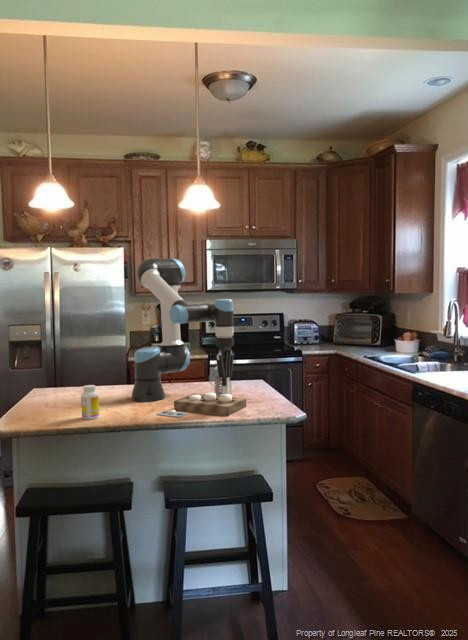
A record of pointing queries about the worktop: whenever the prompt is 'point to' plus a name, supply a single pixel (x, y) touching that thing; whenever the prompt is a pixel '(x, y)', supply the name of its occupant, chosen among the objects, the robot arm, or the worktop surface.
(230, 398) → the button
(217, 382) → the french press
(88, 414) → the supplement bottle
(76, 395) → the worktop surface
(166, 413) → the card
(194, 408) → the board
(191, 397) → the button
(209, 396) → the button
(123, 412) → the worktop surface
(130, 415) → the worktop surface
